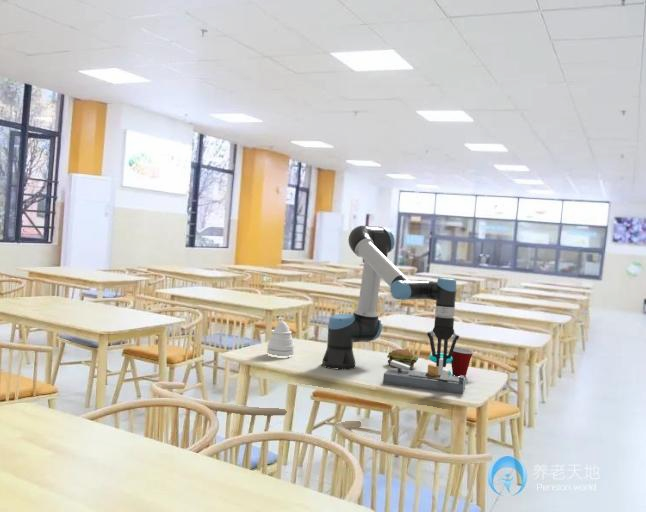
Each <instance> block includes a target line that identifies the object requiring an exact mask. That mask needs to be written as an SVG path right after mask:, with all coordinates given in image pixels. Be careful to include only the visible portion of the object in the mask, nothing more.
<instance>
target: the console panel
mask: <svg viewBox="0 0 646 512" xmlns="http://www.w3.org/2000/svg"><path fill="white" fill-rule="evenodd" d="M427 373H428V371H427V372H426V371H418V370H413V369H412V370H410V369H409V371H407V370H404V369H401V368H394V367H389V368H388V369H387V370H386V371H385V372H384V373H383V378H382V384H384V385H385V384H386V385H391V384H392V385H393V386H399V387H405V388H412V389H413V388H415V389H422V390H427V391H428V390H430V391H436V392H441V393H450V394H457V395H463V394H464V391H465V388H466V382H467V377H466V376H465V377H464V376H463V375H460V377H458V376H454V375H452V374H451V375H449V378H448V380H442V376H441V375H439V377H432V376H427Z"/></svg>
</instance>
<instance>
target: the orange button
mask: <svg viewBox="0 0 646 512" xmlns="http://www.w3.org/2000/svg"><path fill="white" fill-rule="evenodd" d="M438 371H439V367H438V366H436V363H434V364H433V363H430V364H427V372H428V373H427V376H432V377H439V375H438Z"/></svg>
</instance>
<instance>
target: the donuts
mask: <svg viewBox="0 0 646 512" xmlns="http://www.w3.org/2000/svg"><path fill="white" fill-rule="evenodd" d="M436 354H437V352H436ZM448 354H449V353H447V355H448ZM440 358H443V352H441V354H440ZM429 360H430V361H431V362H433V363H434V364H436V361H437V359H436V357H433V356H432V353H431V354H430V355H429ZM452 360H453V358H452V356H451V358H449V359H447V360H446V365H447V364H450V363H451V361H452ZM443 369H445V367H443ZM449 375H451V376H452V371H450V370H449Z"/></svg>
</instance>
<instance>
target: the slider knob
mask: <svg viewBox="0 0 646 512" xmlns="http://www.w3.org/2000/svg"><path fill="white" fill-rule="evenodd" d="M449 371H450V369H449V368H444V369H443V370H442V380H448V378H449Z"/></svg>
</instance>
